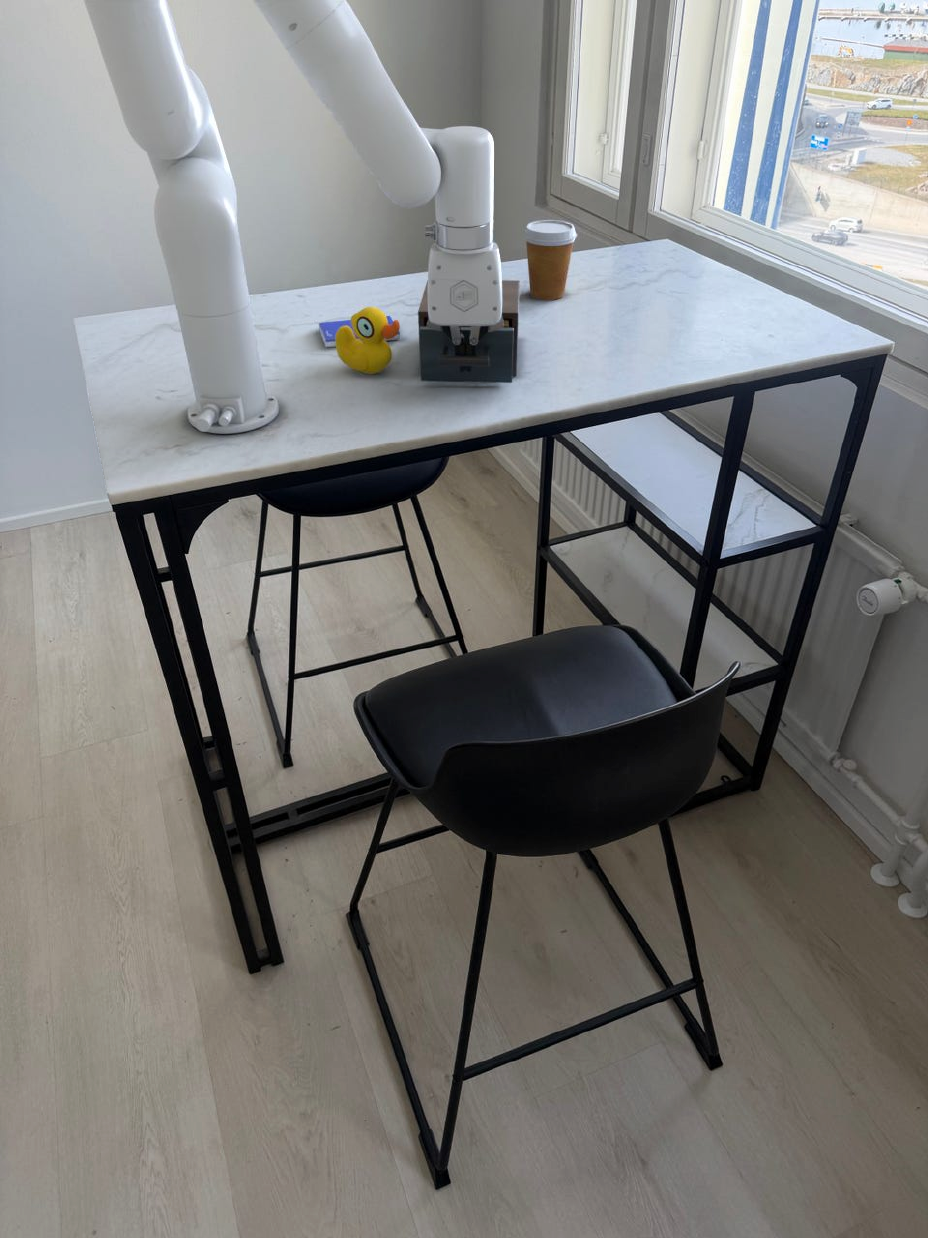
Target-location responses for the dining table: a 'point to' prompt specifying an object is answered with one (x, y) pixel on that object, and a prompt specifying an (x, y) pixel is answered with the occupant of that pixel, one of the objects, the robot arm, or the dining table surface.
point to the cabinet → (508, 312)
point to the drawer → (486, 366)
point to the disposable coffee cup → (549, 257)
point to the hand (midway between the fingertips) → (466, 368)
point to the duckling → (366, 341)
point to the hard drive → (331, 328)
